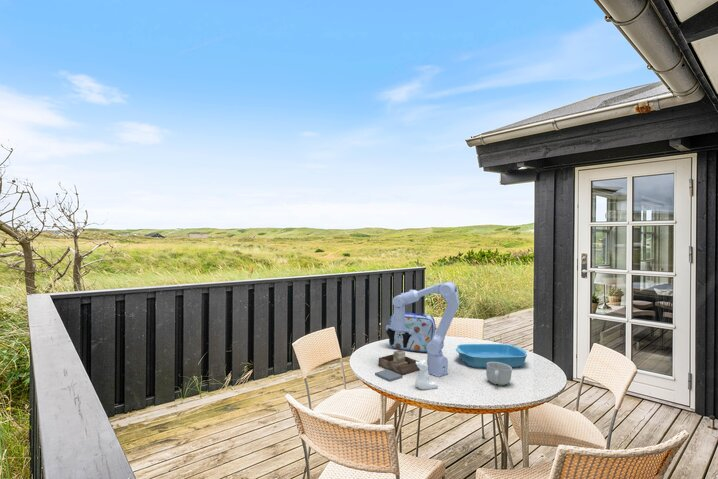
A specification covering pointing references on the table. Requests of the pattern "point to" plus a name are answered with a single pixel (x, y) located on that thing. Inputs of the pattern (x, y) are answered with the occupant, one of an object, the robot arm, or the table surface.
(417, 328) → the lunch box
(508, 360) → the casserole dish
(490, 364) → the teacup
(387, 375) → the slate mat
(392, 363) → the walnut crate
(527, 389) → the table surface
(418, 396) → the table surface
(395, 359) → the metal block
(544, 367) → the table surface
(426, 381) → the white creature statuette
